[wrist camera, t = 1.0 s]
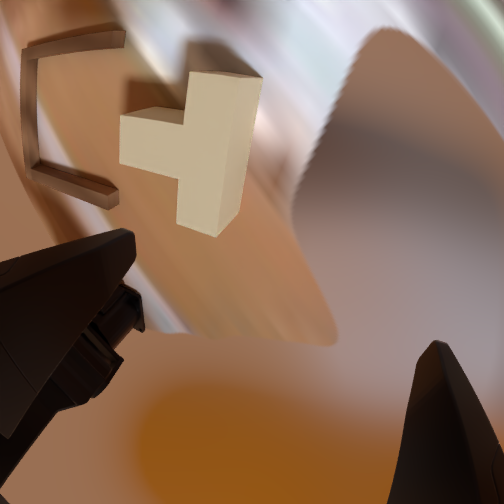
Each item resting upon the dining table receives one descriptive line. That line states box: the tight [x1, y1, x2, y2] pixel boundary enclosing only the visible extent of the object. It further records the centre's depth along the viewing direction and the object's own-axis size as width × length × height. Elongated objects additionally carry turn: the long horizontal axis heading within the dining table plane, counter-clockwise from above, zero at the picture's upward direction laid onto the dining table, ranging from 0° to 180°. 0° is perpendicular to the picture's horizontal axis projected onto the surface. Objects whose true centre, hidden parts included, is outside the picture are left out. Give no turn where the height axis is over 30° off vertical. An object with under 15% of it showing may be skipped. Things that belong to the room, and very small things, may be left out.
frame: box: [20, 31, 126, 210], centre depth 23 cm, size 16×16×2 cm
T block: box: [120, 71, 263, 237], centre depth 19 cm, size 10×8×4 cm
